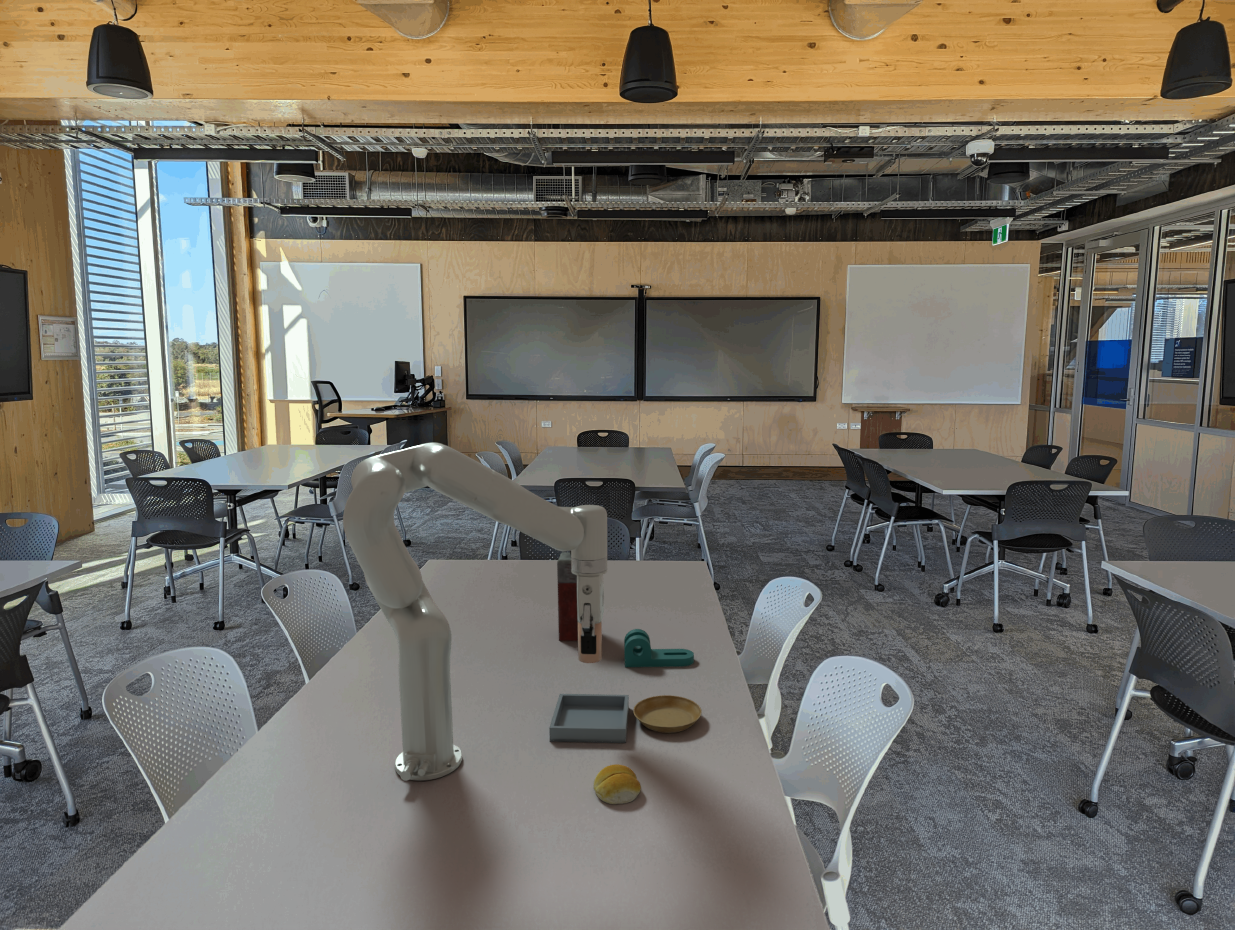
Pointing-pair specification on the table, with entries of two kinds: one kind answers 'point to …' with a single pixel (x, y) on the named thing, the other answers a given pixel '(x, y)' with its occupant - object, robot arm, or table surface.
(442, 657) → the robot arm
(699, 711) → the plant saucer
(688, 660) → the bracket
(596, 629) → the shaker
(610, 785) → the bread roll
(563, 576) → the red gray rectangular canister
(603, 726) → the slate tray
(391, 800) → the table surface
